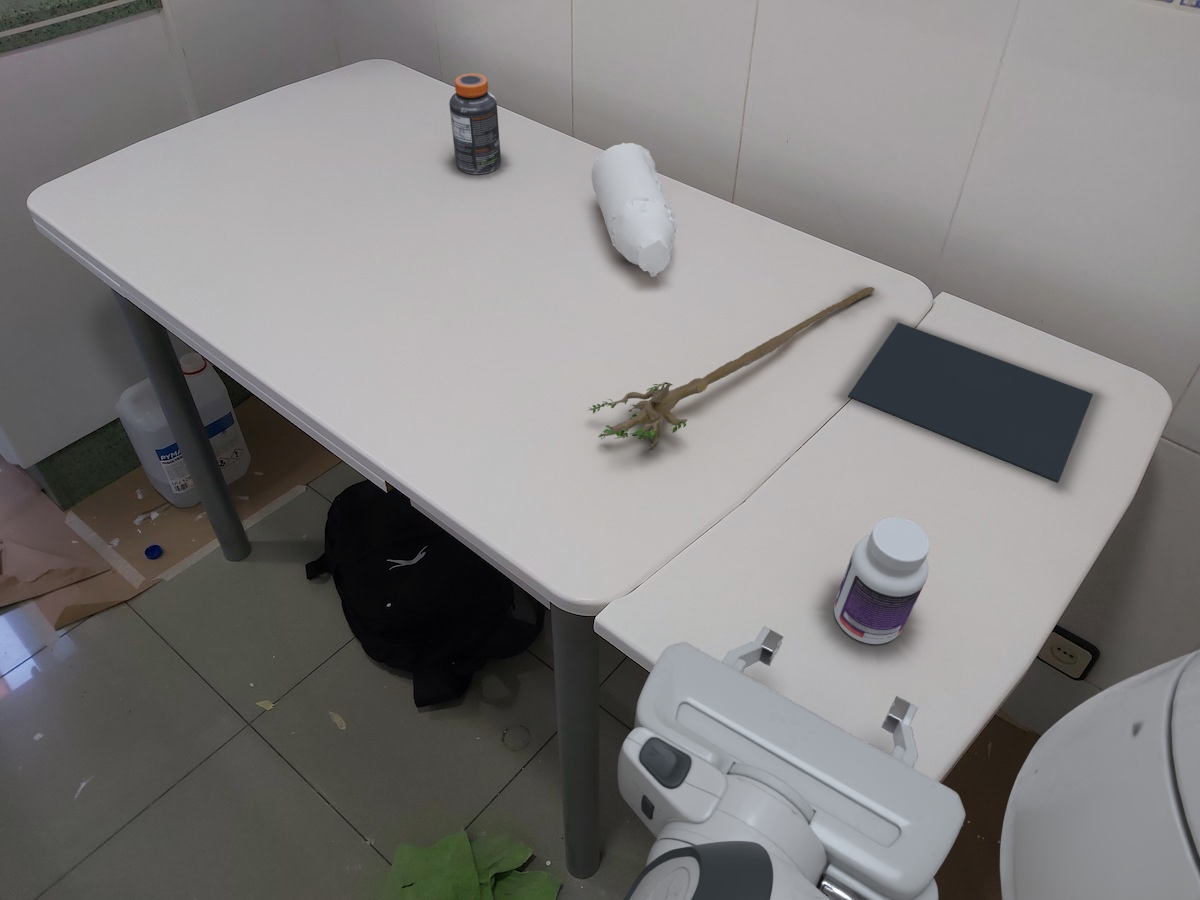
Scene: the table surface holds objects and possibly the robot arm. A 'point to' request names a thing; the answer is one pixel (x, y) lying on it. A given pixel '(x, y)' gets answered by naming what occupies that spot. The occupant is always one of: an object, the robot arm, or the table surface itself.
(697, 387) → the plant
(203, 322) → the table surface
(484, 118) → the pill bottle
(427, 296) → the table surface
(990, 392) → the mat
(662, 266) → the white bottle
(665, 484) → the table surface
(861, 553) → the pill bottle
